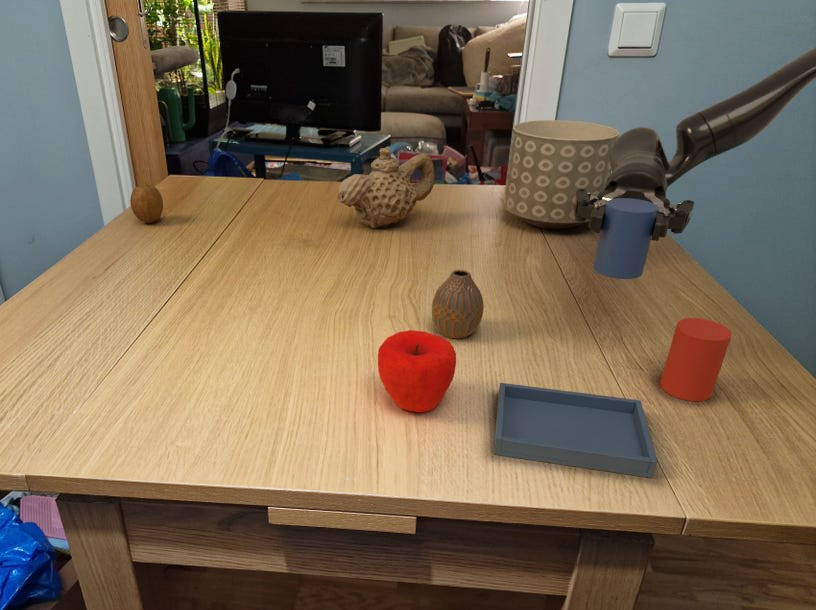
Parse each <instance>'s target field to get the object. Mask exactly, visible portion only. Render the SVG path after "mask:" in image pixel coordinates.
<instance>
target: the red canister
mask: <svg viewBox="0 0 816 610" xmlns="http://www.w3.org/2000/svg"><path fill="white" fill-rule="evenodd" d="M674 329H675V330H674V332H673V336H672V340H671V343H670V347H669V351H668V353H667V357H666V360H665V364H664V368H663V371H662V375H661V378H660V381H659V384H660V387H661V390H663V391H664V392H665V393H667V394H668V395H670V396H671V397H674V398H677V399H680V400H683V401H689V402H703V401H707V400H709V399H710V398H711V397H712V396H713V392H714V390H715V387H716V383H717V380H718V378H719V374H720V372H721V369H722V367H723V366H722V365H723V362H724V360H725V357H726V354H727V351H728V347H729V345H730V342H731V338H732V335H733V332H732V331H731V329H729V328H728V327H727V326H726V325H723V324H722V323H719V322H716V321H713V320H710V319H705V318H698V317H688V318H682V319H680V320H679V321H677V323H676V326H675V328H674Z"/></svg>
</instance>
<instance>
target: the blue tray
mask: <svg viewBox="0 0 816 610" xmlns="http://www.w3.org/2000/svg"><path fill="white" fill-rule="evenodd" d="M496 405H497V406H496V417H495V418H496V419H495V431H494V434H495V435H494V446H493V455H495V456H502V457H509V458H516V459H522V460H530V461H534V462H542V463H550V464H555V465H562V466H568V467H569V466H570V467H575V468H576V467H577V468H583V469H589V470H595V471H603V472H610V473H615V474H622V475H628V476H634V477H642V478H647V479H653V478H654V475H655V471H656V468H657V464H658V460H657V456H656V453H655V448H654V445H653V441H652V437H651V434H650V429H649V427H648V422H647V418H646V416H645V415H646V414H645V411H644V408H643V403H642V401H641V400H640V399H632V398H624V397H617V396H608V395H602V394H594V393H593V394H592V393H584V392H577V391H570V390H569V391H568V390H562V389H561V390H560V389H555V388H547V387H538V386H529V385H522V384H516V383H514V384H513V383H507V382H500V383H499V387H498V394H497V404H496Z"/></svg>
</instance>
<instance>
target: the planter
mask: <svg viewBox="0 0 816 610" xmlns="http://www.w3.org/2000/svg"><path fill="white" fill-rule="evenodd" d="M619 136H620V131H619V130H618V129H616V128H614V127H611V126H608V125H604V124H599V123H594V122H588V121H577V120H562V119H541V120H529V121H523V122H519V123H516V124H515V125H514V126H513V128H512V136H511V144H510V151H509V158H508V159H509V160H508V168H507V174H506V182H505V191H504V196H503V197H504V199H503V208H504V209H505V210H506V211H507V212H509V213H510V214H512V215H515V216H517V217H518V218H520V219H521V220H522V221H524V222H526V223H528V224H529V225H531V226H534V227H537V228H541V229H546V230H563V229H569V228H573V227H577V226H579V225H582V224H584V223H587V222H588V223H589V221H590V220H589V219H586V221H582V222H579V221H577V220H576V219H575V214H574V203H575V197H576V192H577V189H581V188H582V189H585V190H587V192H590V193H591V196H598V194H599V193H600V192H603V191H604V189H605V186H606V181H607V179H608V177H609V176H610V175H611V173H612V168H611V164H610V158H609V152H610V148H611V146H612V144H613V143H614V141H615V140H616V139H617V138H618V137H619Z"/></svg>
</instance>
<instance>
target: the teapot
mask: <svg viewBox="0 0 816 610" xmlns="http://www.w3.org/2000/svg"><path fill="white" fill-rule="evenodd" d="M378 153H379V157H377V158H376V159H374V160H373V161H372V162H371V163H370V167H371V171H370V172H369V174H362V173H361V174H360V173H359V174H358V173H356V174H355V173H354V174H352V175H351V176H348V177H347V178H345V179H343V181H342V182H341V184H340V185H339V186H338V191H337V198H338V199H339V201H340V204H342V205H345V206H347V207H348V208H351V207H354V210H355V213H356V214H357V216H358V218H360V221H361V224H363V225H365V226H370V227H371V229H376V228H388V227H391V226H394V225H397V224H398V223H399V222H401V221H404V219H406V218H407V217H408V215H409V214H411V213H412V212H413V211H414V207H415V206H416V205H417V202H418V201H419V202H421V201H424V200H425V199H426V198H427V197H428V196H429V195H430V194H431V192H432V190H433V188H434V186H435V181H436V178H435V168H434V163H433V160H432V158H431V156H429V154H427V153H423V152H422V153H419V154H417V155H414V156H412V157H411V158H410V159H408V160H407V161H405V162H403V163H401V165H400V163H399V161H398V159H397V158H396V157H393V156H391V155H392V153H391V147H390V146H386V147H381V148H379V151H378ZM418 170H419V171H420V179H419V181H418V182H416V183H413V184H412V183H411V177H412V176H413V174H414V173H415V172H417V171H418Z"/></svg>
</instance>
